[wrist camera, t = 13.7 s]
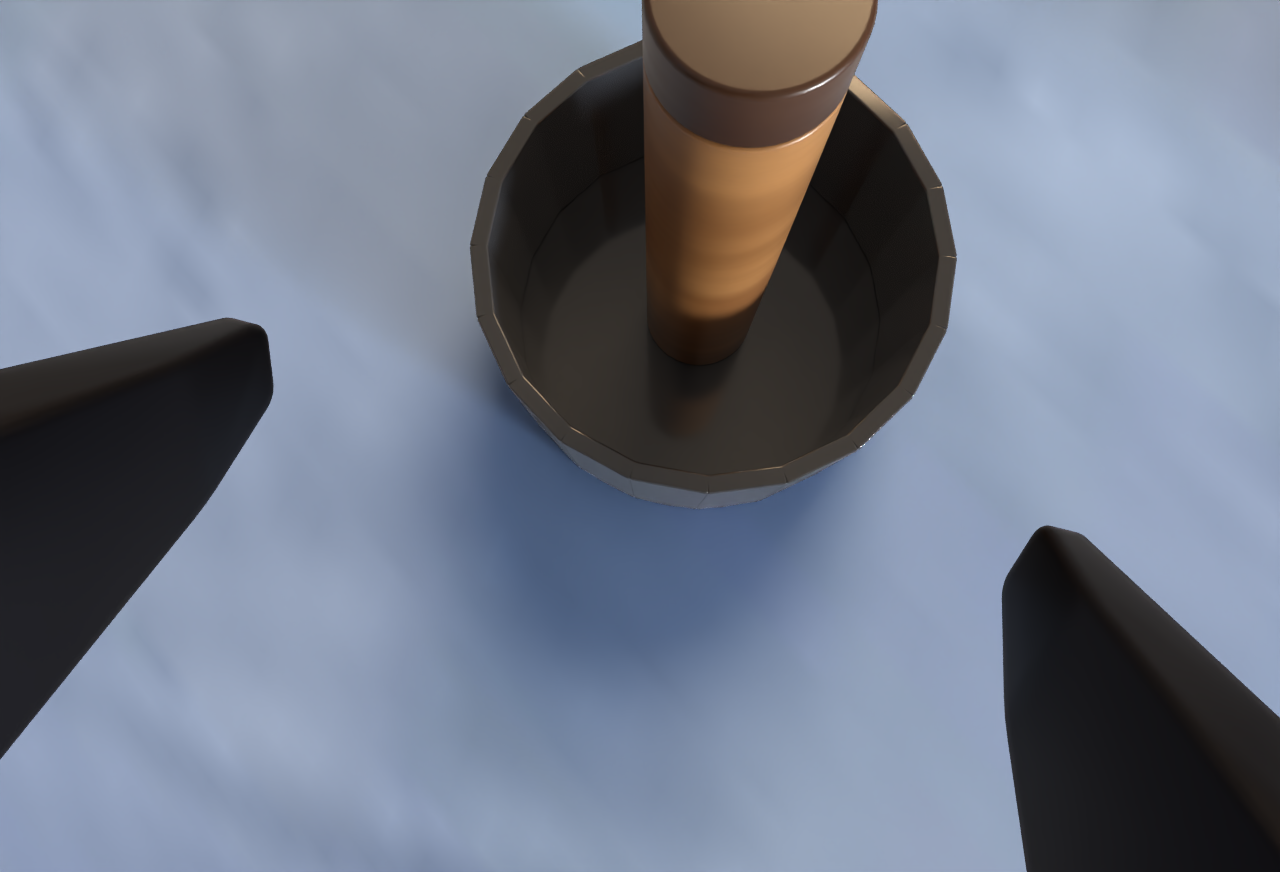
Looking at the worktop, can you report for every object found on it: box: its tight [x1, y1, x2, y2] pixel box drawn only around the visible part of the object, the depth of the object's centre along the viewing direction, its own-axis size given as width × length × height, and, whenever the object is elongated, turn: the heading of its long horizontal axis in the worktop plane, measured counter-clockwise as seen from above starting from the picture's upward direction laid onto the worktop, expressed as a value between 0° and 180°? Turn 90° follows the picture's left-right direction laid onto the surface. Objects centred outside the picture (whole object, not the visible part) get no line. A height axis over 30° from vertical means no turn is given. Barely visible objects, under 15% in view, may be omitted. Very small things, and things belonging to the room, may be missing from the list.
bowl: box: [470, 40, 957, 509], centre depth 20 cm, size 10×10×5 cm
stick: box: [642, 0, 878, 365], centre depth 16 cm, size 3×3×12 cm
